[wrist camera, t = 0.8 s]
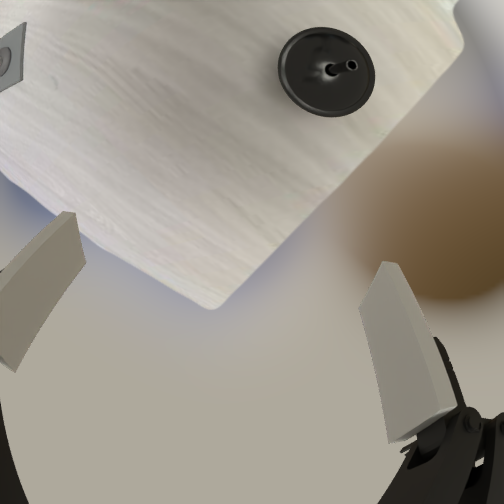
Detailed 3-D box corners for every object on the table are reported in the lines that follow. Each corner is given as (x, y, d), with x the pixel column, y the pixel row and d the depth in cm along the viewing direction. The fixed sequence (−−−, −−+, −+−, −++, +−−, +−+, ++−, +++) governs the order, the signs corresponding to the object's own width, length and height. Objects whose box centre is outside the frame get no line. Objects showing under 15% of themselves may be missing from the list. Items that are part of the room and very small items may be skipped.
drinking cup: (288, 113, 31) (310, 145, 14) (265, 60, 27) (258, 22, 10) (344, 97, 29) (426, 116, 12) (323, 43, 25) (385, -1, 8)
